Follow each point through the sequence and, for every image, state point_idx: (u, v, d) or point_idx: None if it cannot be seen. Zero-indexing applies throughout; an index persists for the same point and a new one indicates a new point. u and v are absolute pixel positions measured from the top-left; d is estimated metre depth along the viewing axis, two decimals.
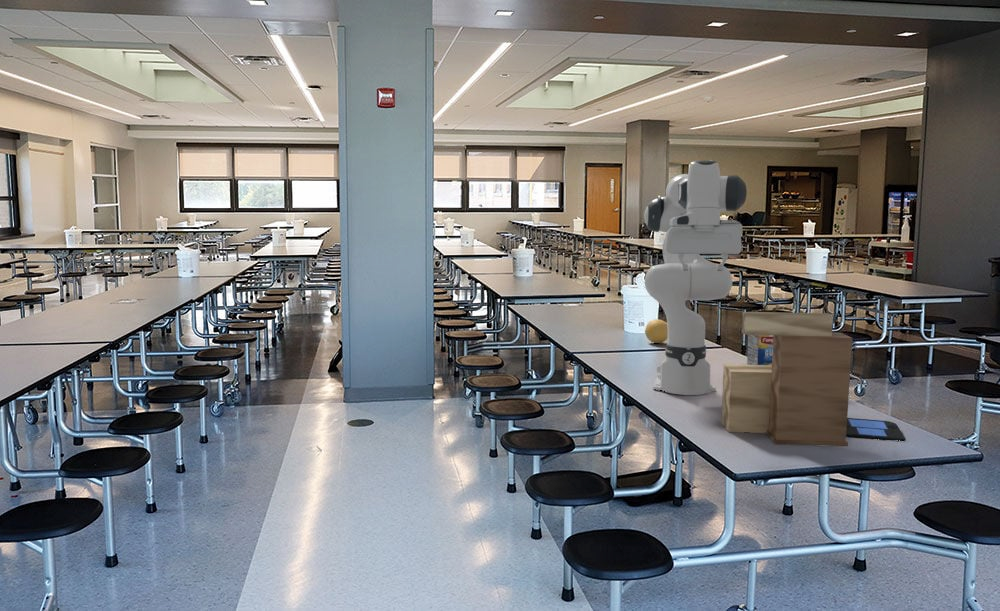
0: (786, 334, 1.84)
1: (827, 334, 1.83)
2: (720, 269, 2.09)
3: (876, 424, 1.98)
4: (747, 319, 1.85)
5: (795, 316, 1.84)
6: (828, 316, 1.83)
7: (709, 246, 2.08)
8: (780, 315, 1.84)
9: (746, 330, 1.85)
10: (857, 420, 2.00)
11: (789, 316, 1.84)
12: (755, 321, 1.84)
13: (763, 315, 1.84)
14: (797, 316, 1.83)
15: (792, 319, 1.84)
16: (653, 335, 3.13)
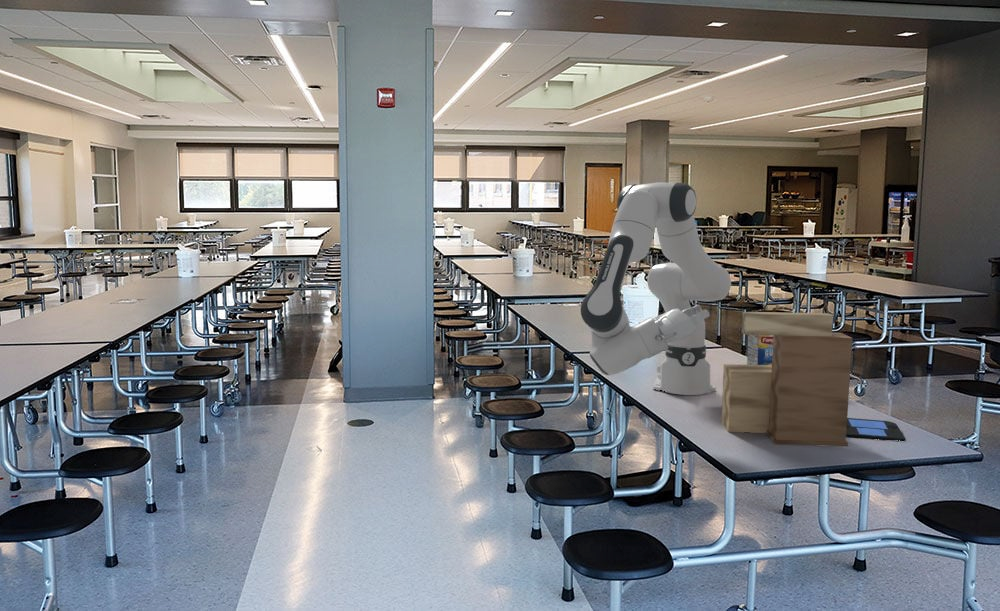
0: (786, 334, 1.84)
1: (827, 334, 1.83)
2: None
3: (876, 424, 1.98)
4: (747, 319, 1.85)
5: (795, 316, 1.84)
6: (828, 316, 1.83)
7: None
8: (780, 315, 1.84)
9: (746, 330, 1.85)
10: (857, 420, 2.01)
11: (789, 316, 1.84)
12: (755, 321, 1.84)
13: (763, 315, 1.84)
14: (797, 316, 1.83)
15: (792, 319, 1.84)
16: None
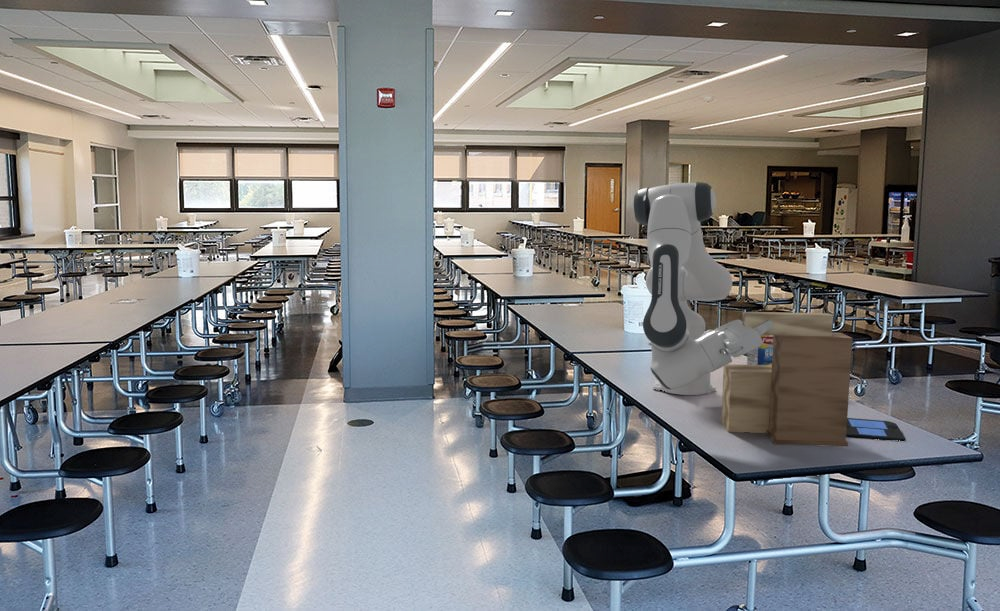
0: (786, 334, 1.84)
1: (827, 334, 1.83)
2: None
3: (876, 424, 1.98)
4: (747, 319, 1.85)
5: (795, 316, 1.84)
6: (828, 316, 1.83)
7: None
8: (780, 315, 1.84)
9: None
10: (857, 420, 2.01)
11: (789, 316, 1.84)
12: (755, 321, 1.84)
13: (763, 315, 1.84)
14: (797, 316, 1.83)
15: (792, 319, 1.84)
16: None
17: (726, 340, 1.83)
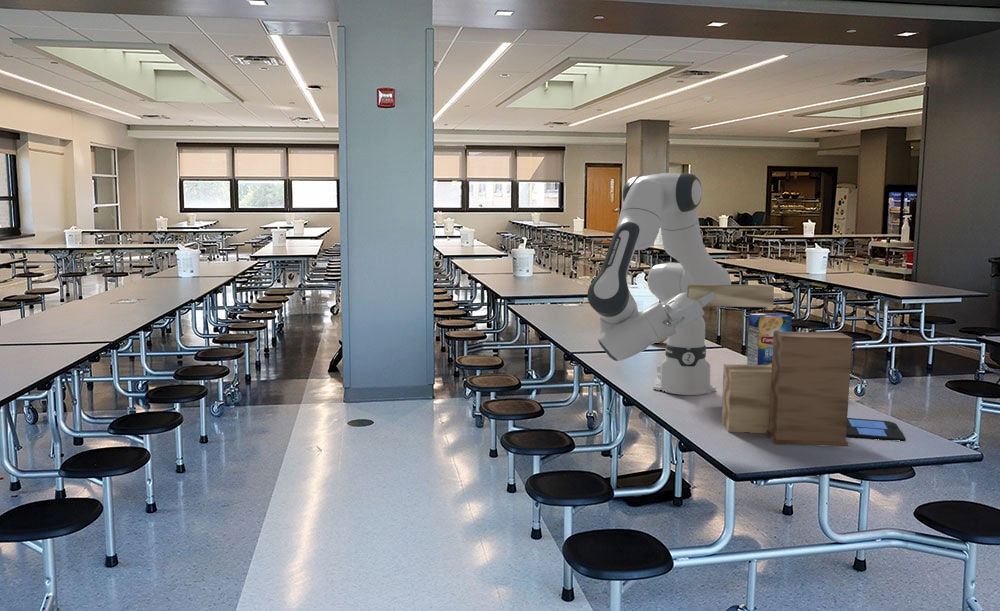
0: (729, 305, 1.88)
1: (768, 305, 1.88)
2: None
3: (876, 424, 1.98)
4: (690, 291, 1.89)
5: (737, 288, 1.88)
6: (769, 287, 1.87)
7: None
8: (723, 287, 1.88)
9: None
10: (857, 420, 2.01)
11: (731, 287, 1.88)
12: (698, 292, 1.89)
13: (706, 287, 1.88)
14: (739, 287, 1.88)
15: (734, 290, 1.88)
16: None
17: (670, 311, 1.87)
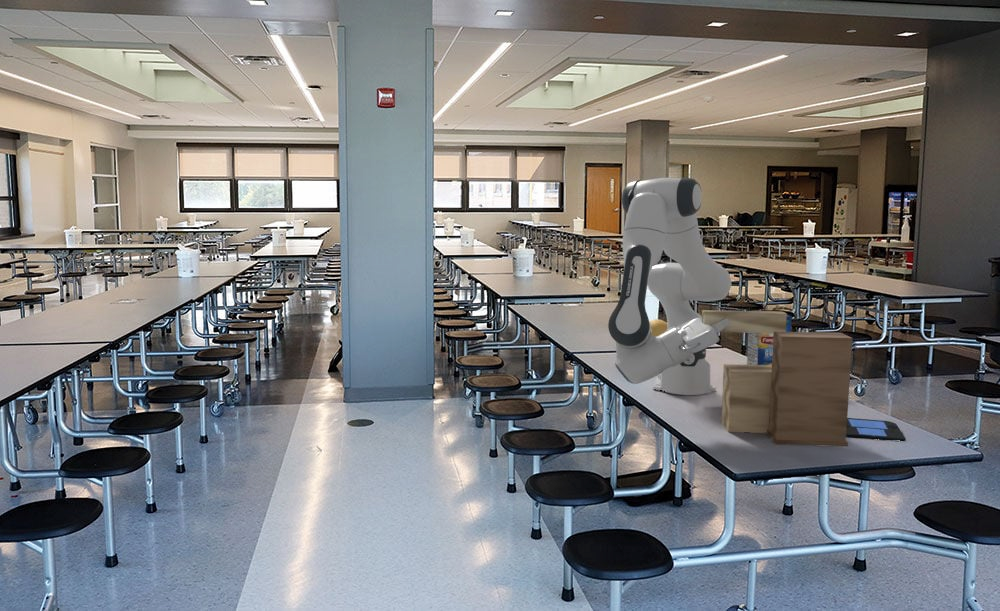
0: (742, 331, 1.94)
1: (781, 331, 1.94)
2: None
3: (876, 424, 1.98)
4: (705, 317, 1.95)
5: (751, 314, 1.94)
6: (782, 314, 1.93)
7: None
8: (737, 313, 1.94)
9: None
10: (857, 420, 2.01)
11: (745, 314, 1.94)
12: (713, 318, 1.95)
13: (721, 313, 1.94)
14: (753, 314, 1.94)
15: (748, 317, 1.94)
16: (653, 335, 3.13)
17: (685, 337, 1.93)
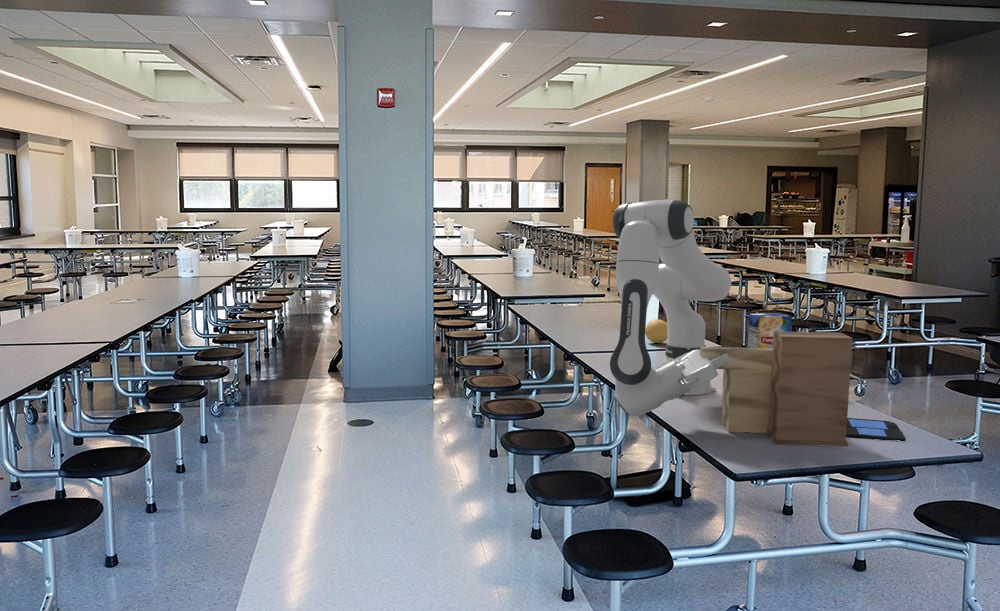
0: (740, 368, 1.96)
1: None
2: None
3: (876, 424, 1.98)
4: (704, 354, 1.96)
5: (749, 352, 1.95)
6: None
7: None
8: (735, 350, 1.95)
9: None
10: (857, 420, 2.01)
11: (743, 351, 1.95)
12: (711, 355, 1.96)
13: (719, 350, 1.96)
14: (750, 351, 1.95)
15: (746, 354, 1.95)
16: (653, 335, 3.13)
17: (684, 371, 1.94)
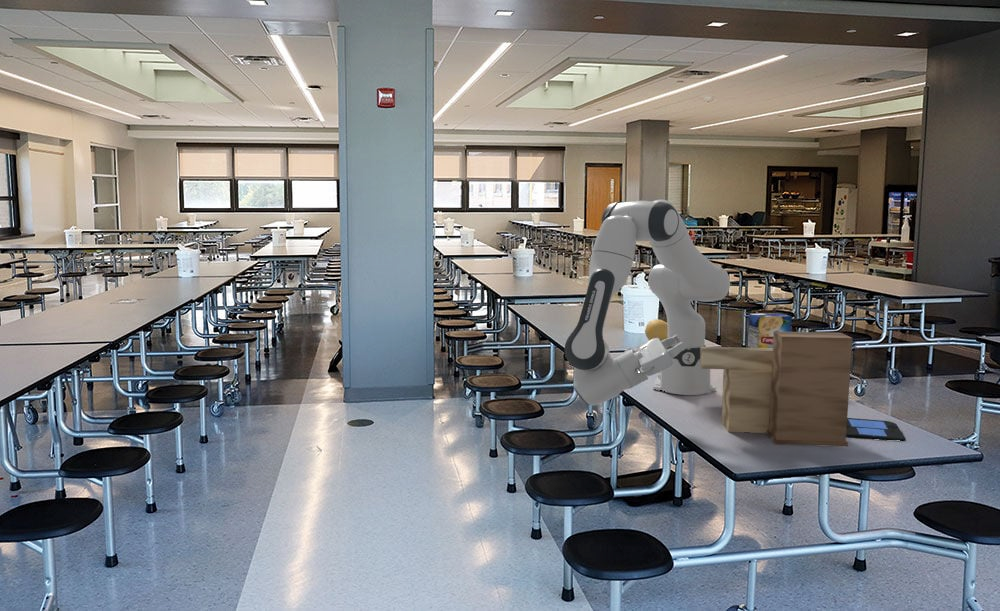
0: (740, 368, 1.96)
1: None
2: None
3: (876, 424, 1.98)
4: (704, 354, 1.96)
5: (749, 352, 1.95)
6: None
7: None
8: (735, 350, 1.95)
9: (703, 364, 1.96)
10: (857, 420, 2.01)
11: (743, 351, 1.95)
12: (711, 355, 1.96)
13: (719, 350, 1.96)
14: (750, 351, 1.95)
15: (746, 354, 1.95)
16: (653, 335, 3.13)
17: (641, 359, 1.95)
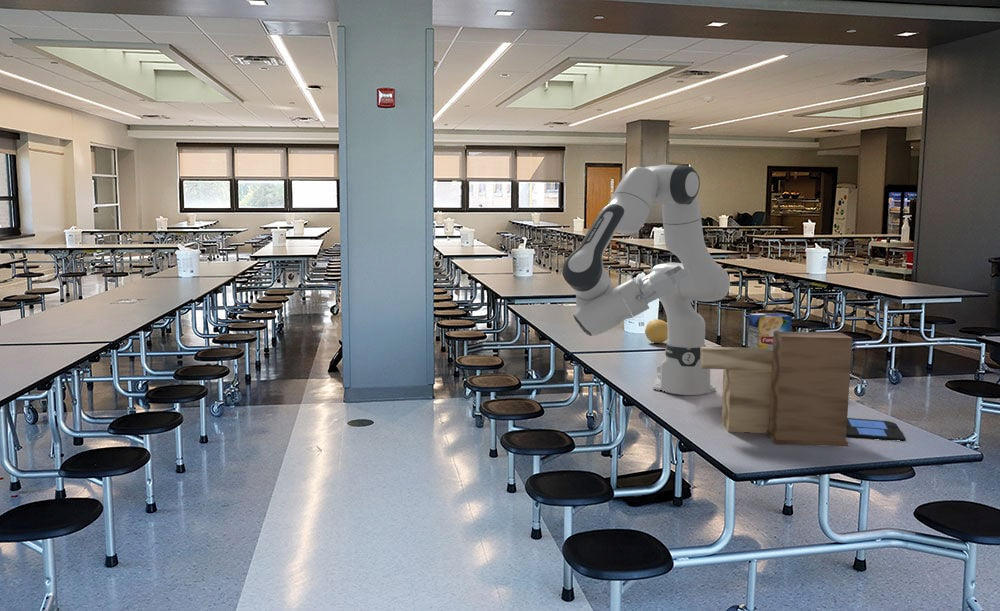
0: (740, 368, 1.96)
1: None
2: None
3: (876, 424, 1.98)
4: (704, 354, 1.96)
5: (749, 352, 1.95)
6: None
7: None
8: (735, 350, 1.95)
9: (703, 364, 1.96)
10: (857, 420, 2.01)
11: (743, 351, 1.95)
12: (711, 355, 1.96)
13: (719, 350, 1.96)
14: (750, 351, 1.95)
15: (746, 354, 1.95)
16: (653, 335, 3.13)
17: (642, 287, 1.92)
